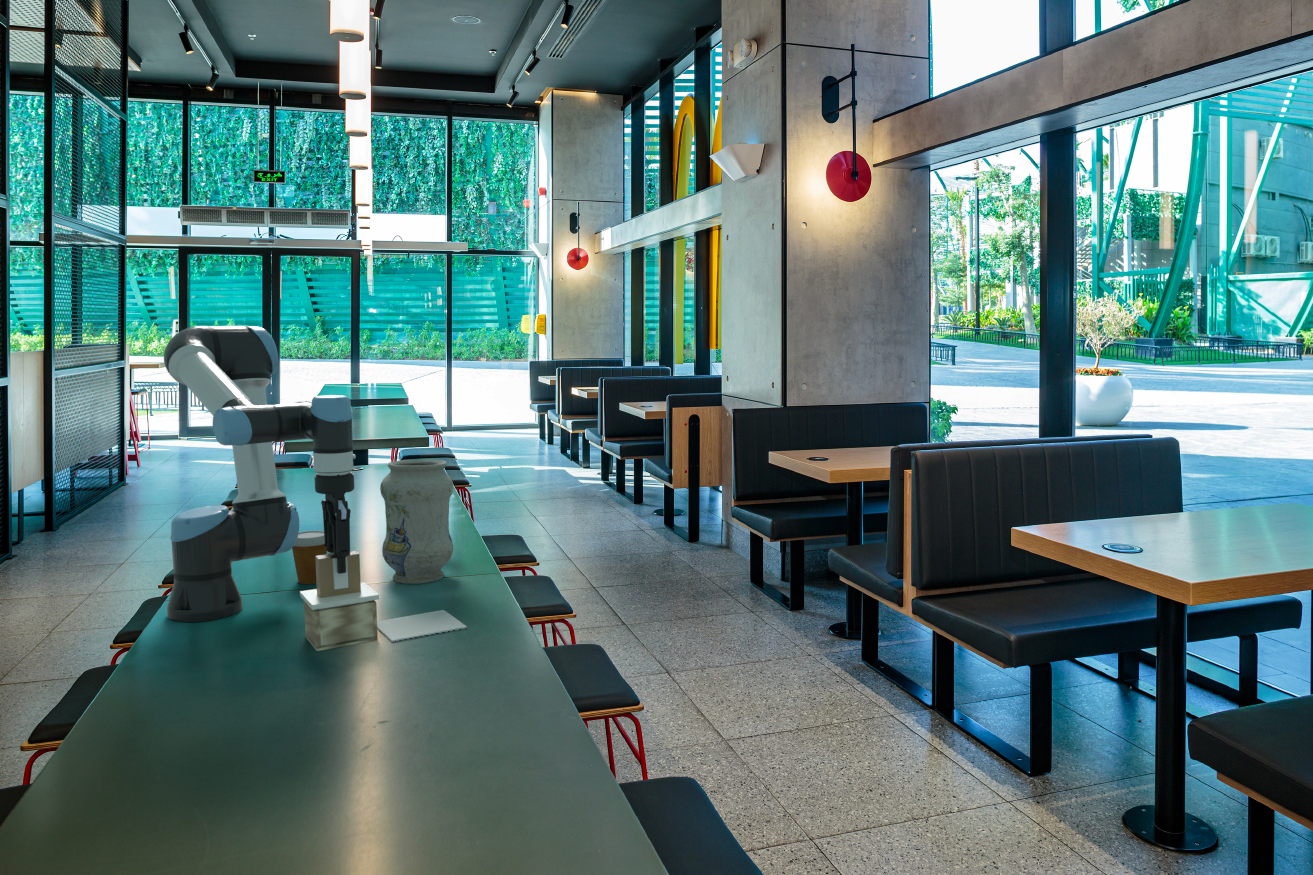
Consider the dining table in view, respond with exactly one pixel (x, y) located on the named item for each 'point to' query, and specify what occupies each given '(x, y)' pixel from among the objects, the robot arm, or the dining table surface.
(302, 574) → the disposable coffee cup
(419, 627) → the tray
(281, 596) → the dining table surface
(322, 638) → the crate
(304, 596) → the lid
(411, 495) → the vase
